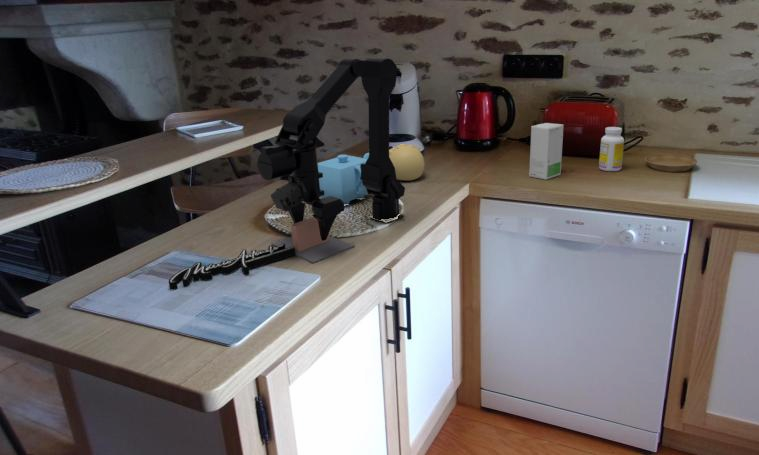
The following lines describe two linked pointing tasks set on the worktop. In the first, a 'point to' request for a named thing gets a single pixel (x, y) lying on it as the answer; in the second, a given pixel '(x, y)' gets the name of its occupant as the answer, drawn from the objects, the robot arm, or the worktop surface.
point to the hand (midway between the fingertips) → (311, 235)
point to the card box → (306, 234)
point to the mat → (318, 249)
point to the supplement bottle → (611, 150)
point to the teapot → (342, 177)
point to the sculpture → (407, 161)
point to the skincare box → (546, 150)
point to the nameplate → (231, 265)
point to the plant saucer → (670, 162)
